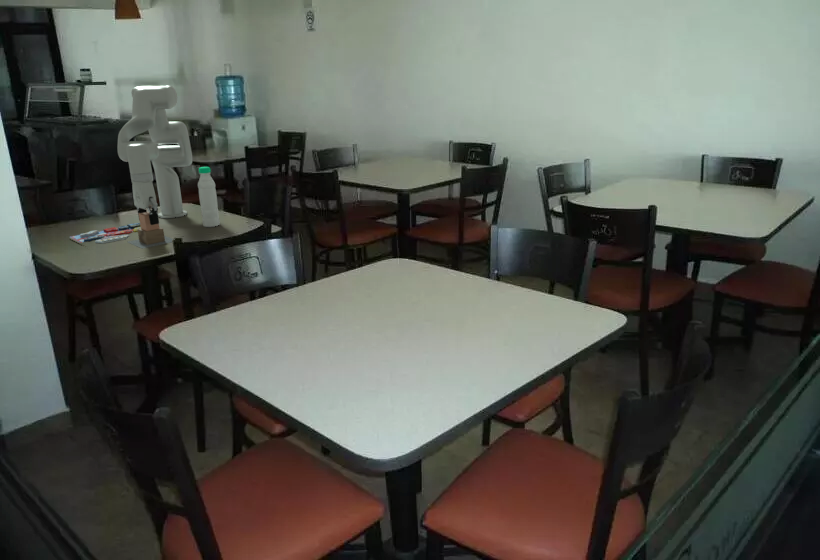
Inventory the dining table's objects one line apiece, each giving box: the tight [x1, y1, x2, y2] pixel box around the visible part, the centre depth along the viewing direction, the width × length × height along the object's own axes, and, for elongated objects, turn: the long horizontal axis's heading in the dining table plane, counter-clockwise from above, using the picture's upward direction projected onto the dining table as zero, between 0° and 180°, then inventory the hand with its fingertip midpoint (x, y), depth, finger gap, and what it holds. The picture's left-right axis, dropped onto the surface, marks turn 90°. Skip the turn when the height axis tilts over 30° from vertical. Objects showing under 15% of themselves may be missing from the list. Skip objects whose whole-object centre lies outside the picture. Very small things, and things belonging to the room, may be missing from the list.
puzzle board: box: [69, 222, 141, 248], centre depth 250 cm, size 30×23×3 cm
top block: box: [138, 211, 161, 231], centre depth 235 cm, size 5×5×6 cm
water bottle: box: [197, 166, 221, 228], centre depth 260 cm, size 7×7×25 cm
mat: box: [127, 235, 174, 249], centre depth 238 cm, size 14×14×1 cm
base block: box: [137, 226, 165, 245], centre depth 237 cm, size 7×7×5 cm
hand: (149, 222), depth 235 cm, fingers open, 9 cm apart
